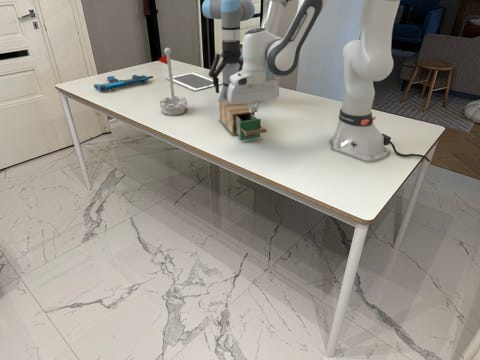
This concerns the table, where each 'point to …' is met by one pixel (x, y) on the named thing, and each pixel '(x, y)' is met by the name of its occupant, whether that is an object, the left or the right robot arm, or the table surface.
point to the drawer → (247, 126)
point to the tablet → (193, 81)
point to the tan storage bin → (231, 113)
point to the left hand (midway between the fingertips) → (231, 90)
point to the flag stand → (174, 103)
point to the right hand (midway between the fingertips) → (253, 111)
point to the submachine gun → (121, 82)
